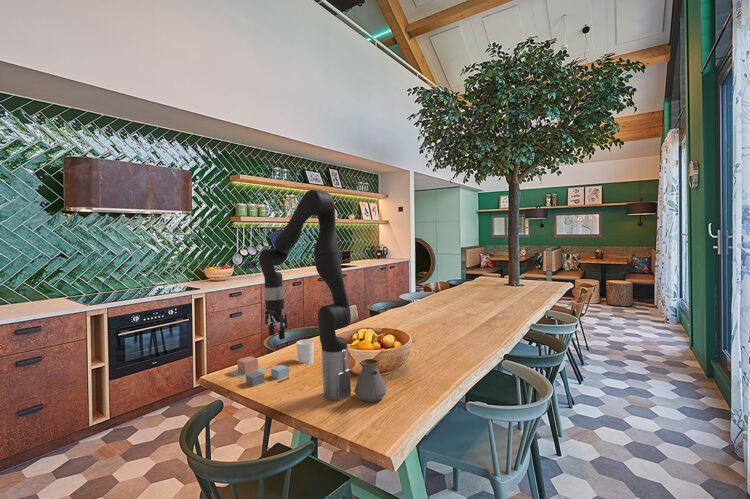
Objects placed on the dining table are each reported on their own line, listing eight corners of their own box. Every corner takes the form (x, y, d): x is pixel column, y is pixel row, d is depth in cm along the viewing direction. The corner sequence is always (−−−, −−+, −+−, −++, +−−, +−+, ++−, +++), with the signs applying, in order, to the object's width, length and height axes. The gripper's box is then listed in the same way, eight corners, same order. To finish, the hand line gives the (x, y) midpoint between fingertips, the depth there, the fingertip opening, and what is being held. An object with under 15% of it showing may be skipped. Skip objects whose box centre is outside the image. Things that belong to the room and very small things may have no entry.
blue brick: (289, 379, 150) (288, 367, 149) (278, 383, 146) (278, 371, 146) (281, 376, 153) (281, 364, 153) (271, 380, 149) (270, 368, 149)
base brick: (258, 370, 156) (257, 358, 156) (245, 374, 152) (244, 362, 152) (250, 367, 160) (250, 356, 160) (237, 371, 156) (237, 359, 156)
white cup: (293, 365, 165) (292, 343, 165) (304, 359, 172) (303, 338, 172) (307, 367, 162) (306, 345, 161) (318, 361, 169) (317, 340, 168)
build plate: (268, 373, 157) (268, 369, 157) (242, 382, 148) (242, 378, 148) (253, 367, 165) (253, 363, 165) (227, 375, 156) (227, 372, 155)
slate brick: (264, 386, 143) (264, 373, 143) (253, 390, 140) (252, 378, 139) (257, 383, 147) (257, 371, 147) (246, 387, 143) (245, 374, 143)
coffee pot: (353, 391, 136) (351, 352, 135) (383, 388, 137) (382, 349, 137) (359, 421, 115) (358, 374, 114) (395, 417, 116) (394, 370, 116)
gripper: (291, 298, 146) (293, 338, 147) (274, 294, 157) (276, 332, 157) (274, 301, 141) (276, 342, 142) (257, 297, 152) (260, 336, 152)
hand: (276, 337), depth 150 cm, fingers open, 8 cm apart
